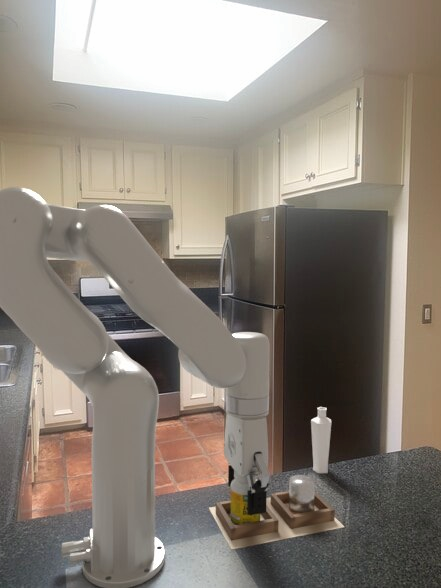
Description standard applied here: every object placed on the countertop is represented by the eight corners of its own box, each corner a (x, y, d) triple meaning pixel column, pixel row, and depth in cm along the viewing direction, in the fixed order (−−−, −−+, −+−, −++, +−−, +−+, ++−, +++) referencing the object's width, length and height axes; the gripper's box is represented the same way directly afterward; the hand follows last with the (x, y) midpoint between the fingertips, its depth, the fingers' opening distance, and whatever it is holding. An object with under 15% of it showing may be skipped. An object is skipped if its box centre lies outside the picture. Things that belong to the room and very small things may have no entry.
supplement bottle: (248, 510, 83) (248, 460, 82) (266, 525, 78) (267, 471, 78) (224, 520, 80) (224, 467, 79) (242, 535, 75) (242, 480, 75)
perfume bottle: (323, 481, 97) (325, 413, 96) (307, 474, 100) (308, 408, 99) (335, 474, 100) (337, 409, 99) (319, 468, 103) (320, 404, 102)
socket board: (231, 555, 72) (231, 537, 71) (208, 512, 84) (208, 497, 84) (344, 532, 78) (345, 515, 78) (308, 496, 90) (308, 481, 90)
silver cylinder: (295, 521, 80) (296, 488, 79) (284, 507, 84) (284, 476, 84) (319, 516, 81) (319, 484, 81) (306, 503, 86) (307, 473, 85)
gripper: (212, 391, 85) (211, 479, 86) (244, 422, 69) (243, 529, 70) (249, 388, 87) (248, 474, 88) (289, 417, 71) (287, 521, 72)
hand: (246, 498), depth 79 cm, fingers open, 9 cm apart
